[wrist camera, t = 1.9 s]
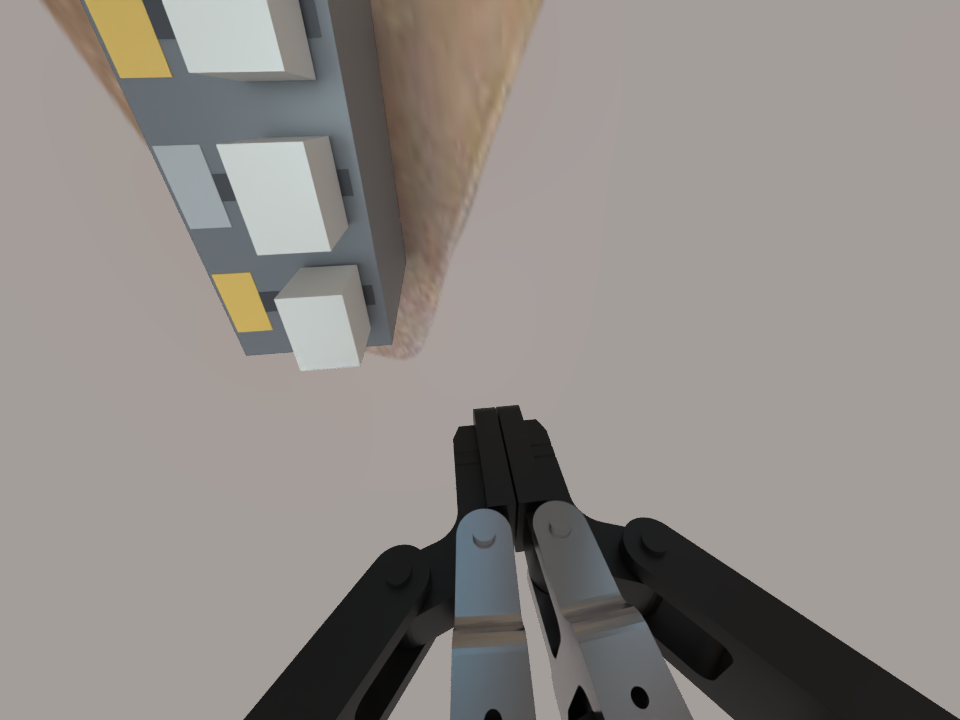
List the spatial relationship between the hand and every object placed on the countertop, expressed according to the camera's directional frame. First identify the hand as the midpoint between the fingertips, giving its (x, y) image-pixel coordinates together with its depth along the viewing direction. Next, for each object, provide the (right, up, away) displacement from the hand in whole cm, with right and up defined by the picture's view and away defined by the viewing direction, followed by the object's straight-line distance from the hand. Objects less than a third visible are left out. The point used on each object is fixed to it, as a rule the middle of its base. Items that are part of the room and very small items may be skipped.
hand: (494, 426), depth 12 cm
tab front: (-9, +16, +2) cm, 18 cm away
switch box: (-13, +20, +19) cm, 30 cm away
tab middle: (-9, +11, +5) cm, 15 cm away
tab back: (-9, +6, +9) cm, 14 cm away
